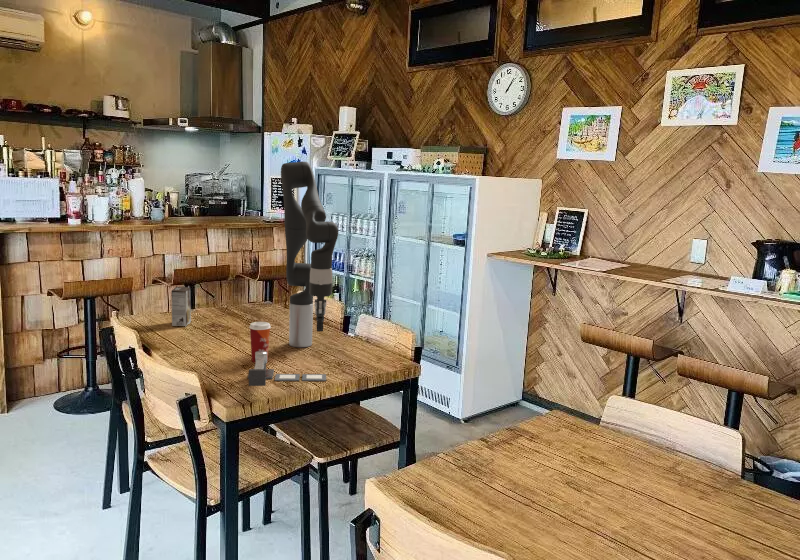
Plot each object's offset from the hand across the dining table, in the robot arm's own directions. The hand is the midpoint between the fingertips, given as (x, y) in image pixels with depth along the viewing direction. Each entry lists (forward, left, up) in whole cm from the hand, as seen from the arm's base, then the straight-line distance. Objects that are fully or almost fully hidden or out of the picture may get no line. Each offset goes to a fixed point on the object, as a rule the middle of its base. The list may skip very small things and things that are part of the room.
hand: (319, 330), depth 207 cm
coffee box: (-69, -61, -16) cm, 93 cm away
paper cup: (-17, -22, -16) cm, 32 cm away
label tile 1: (+2, -11, -16) cm, 19 cm away
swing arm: (+9, -19, -13) cm, 24 cm away
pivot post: (-1, -20, -16) cm, 25 cm away
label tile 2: (+2, -2, -16) cm, 16 cm away
